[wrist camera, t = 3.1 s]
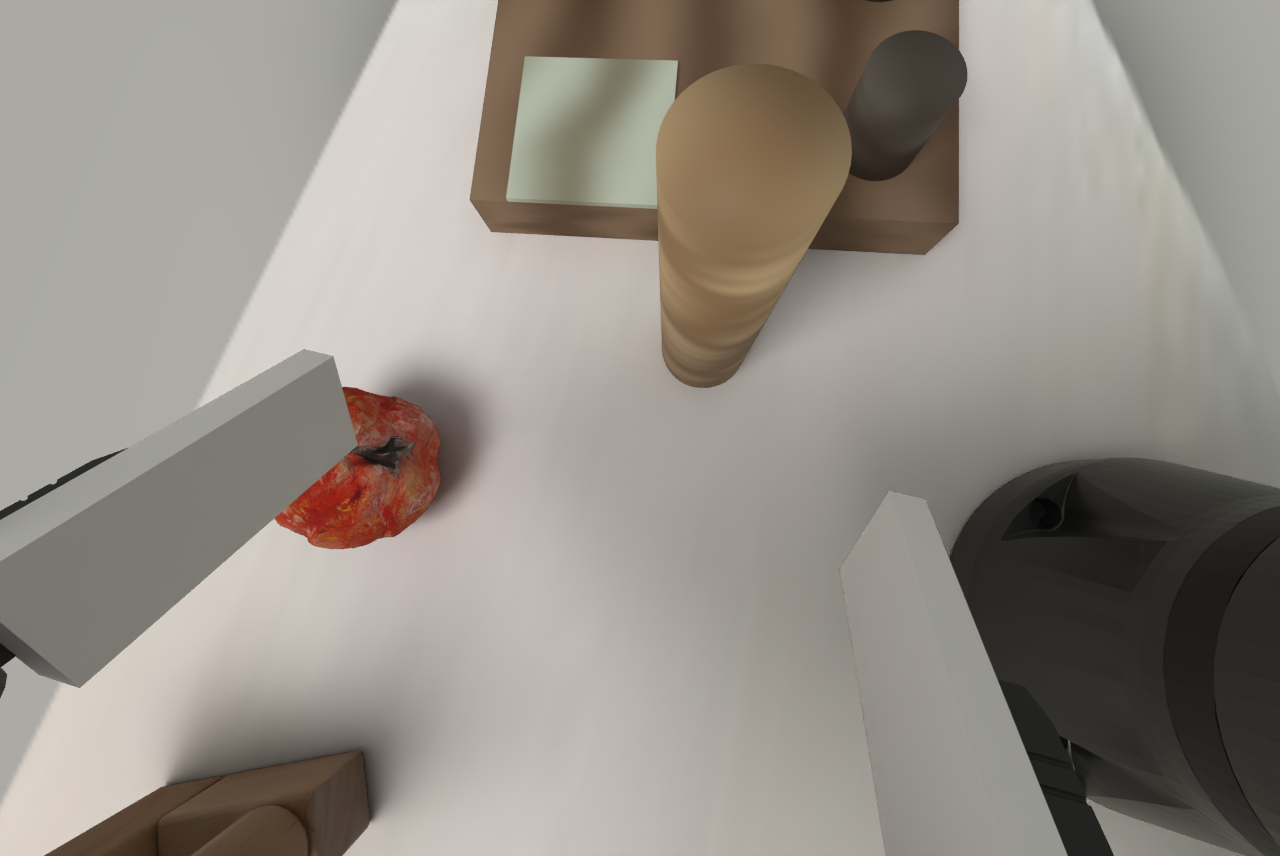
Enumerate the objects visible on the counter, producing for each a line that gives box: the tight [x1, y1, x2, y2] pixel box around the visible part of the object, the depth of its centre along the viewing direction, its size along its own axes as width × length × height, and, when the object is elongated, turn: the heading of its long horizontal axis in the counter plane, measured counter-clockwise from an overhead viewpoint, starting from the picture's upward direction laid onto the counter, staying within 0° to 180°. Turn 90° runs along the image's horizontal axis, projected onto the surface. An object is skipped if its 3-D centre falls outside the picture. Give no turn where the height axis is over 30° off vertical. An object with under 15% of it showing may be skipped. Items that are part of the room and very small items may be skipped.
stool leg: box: [656, 63, 852, 388], centre depth 18 cm, size 4×4×15 cm
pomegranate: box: [275, 387, 441, 549], centre depth 22 cm, size 7×7×10 cm
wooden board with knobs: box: [470, 0, 967, 255], centre depth 24 cm, size 24×18×7 cm
